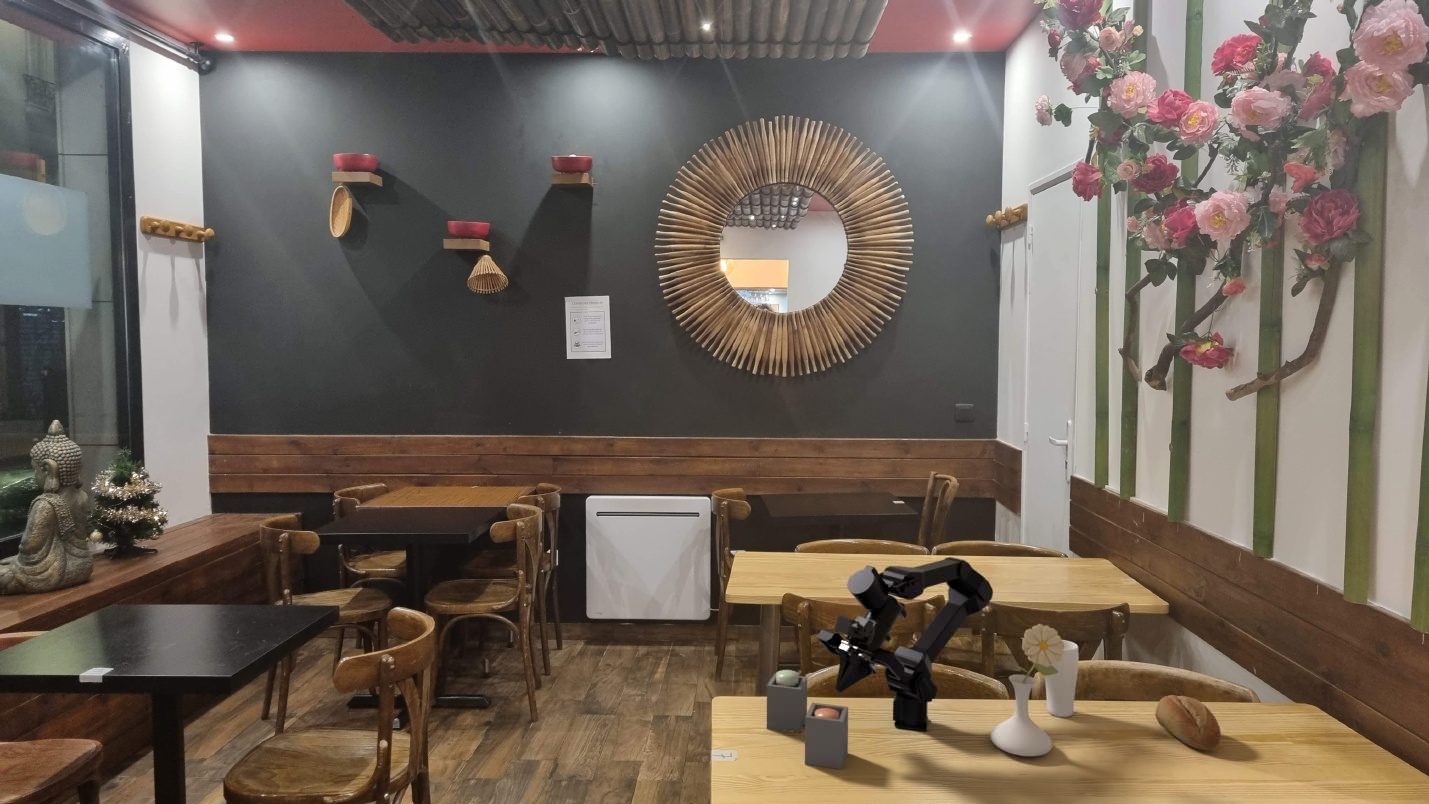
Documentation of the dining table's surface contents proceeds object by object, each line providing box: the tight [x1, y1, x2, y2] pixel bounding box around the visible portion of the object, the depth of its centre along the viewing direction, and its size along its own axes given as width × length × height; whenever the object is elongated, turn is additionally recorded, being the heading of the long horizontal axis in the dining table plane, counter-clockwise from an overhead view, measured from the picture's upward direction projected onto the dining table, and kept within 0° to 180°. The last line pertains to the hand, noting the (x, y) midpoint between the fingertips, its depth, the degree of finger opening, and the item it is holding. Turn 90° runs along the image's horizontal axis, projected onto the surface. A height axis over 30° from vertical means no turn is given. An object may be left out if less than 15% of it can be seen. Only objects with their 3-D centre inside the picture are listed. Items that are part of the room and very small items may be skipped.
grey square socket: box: [766, 672, 808, 733], centre depth 174 cm, size 7×7×9 cm
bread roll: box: [1154, 694, 1222, 751], centre depth 168 cm, size 10×15×8 cm, turn 3°
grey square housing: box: [804, 702, 849, 771], centre depth 159 cm, size 7×7×9 cm
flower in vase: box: [989, 623, 1065, 757], centre depth 162 cm, size 13×11×25 cm
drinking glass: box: [1044, 639, 1079, 718], centre depth 179 cm, size 7×7×15 cm
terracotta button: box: [815, 708, 839, 720], centre depth 158 cm, size 5×5×2 cm
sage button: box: [775, 669, 800, 688], centre depth 173 cm, size 5×5×2 cm
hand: (838, 690), depth 160 cm, fingers closed
